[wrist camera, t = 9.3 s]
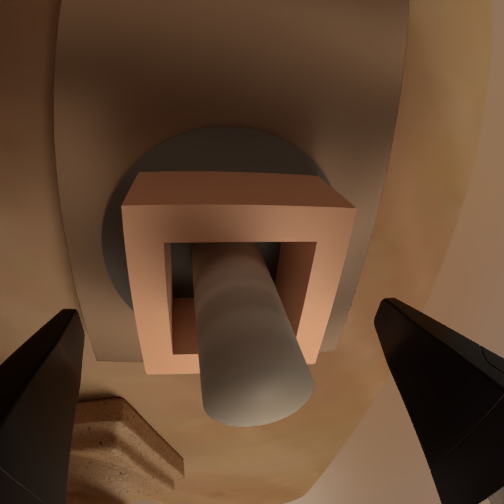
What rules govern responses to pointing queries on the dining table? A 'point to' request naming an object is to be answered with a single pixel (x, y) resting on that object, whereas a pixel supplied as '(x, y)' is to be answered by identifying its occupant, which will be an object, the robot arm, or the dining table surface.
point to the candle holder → (118, 456)
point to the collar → (231, 230)
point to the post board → (221, 161)
